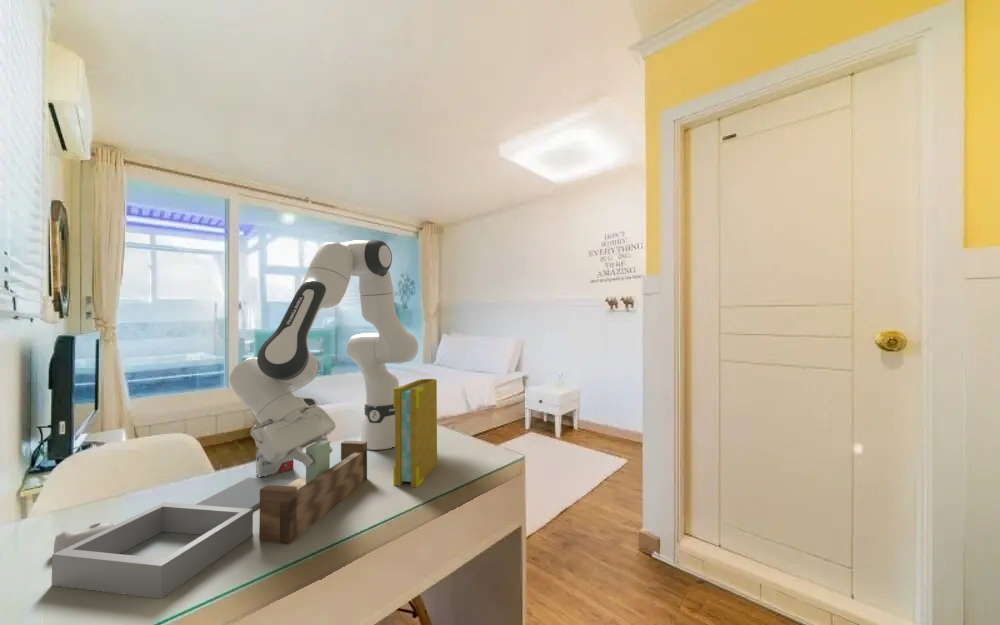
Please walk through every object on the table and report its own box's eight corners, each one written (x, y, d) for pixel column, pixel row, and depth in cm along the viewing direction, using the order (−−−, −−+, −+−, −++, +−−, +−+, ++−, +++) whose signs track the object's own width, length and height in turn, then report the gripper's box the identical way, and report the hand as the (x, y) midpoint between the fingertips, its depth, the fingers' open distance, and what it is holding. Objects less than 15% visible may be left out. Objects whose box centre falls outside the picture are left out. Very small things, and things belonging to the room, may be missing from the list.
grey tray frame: (163, 526, 75) (164, 502, 75) (252, 534, 72) (252, 509, 72) (51, 585, 58) (52, 554, 58) (160, 598, 55) (161, 565, 55)
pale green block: (320, 499, 86) (320, 440, 87) (329, 499, 86) (329, 440, 86) (305, 509, 81) (306, 447, 82) (315, 510, 81) (316, 448, 81)
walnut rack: (345, 477, 98) (345, 440, 98) (367, 478, 97) (367, 441, 98) (259, 541, 69) (259, 489, 70) (289, 544, 69) (289, 491, 69)
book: (417, 487, 92) (417, 389, 93) (393, 485, 93) (393, 388, 94) (441, 461, 108) (440, 379, 109) (420, 460, 110) (420, 378, 110)
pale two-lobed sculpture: (117, 540, 73) (114, 543, 69) (55, 556, 67) (48, 560, 64) (119, 516, 74) (116, 518, 70) (58, 531, 69) (51, 534, 65)
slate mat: (248, 481, 96) (248, 477, 96) (295, 484, 94) (295, 480, 94) (179, 517, 79) (179, 512, 79) (235, 521, 77) (235, 517, 77)
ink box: (289, 464, 108) (289, 425, 108) (293, 469, 104) (294, 428, 105) (255, 473, 102) (255, 431, 102) (259, 478, 98) (259, 435, 99)
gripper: (255, 417, 75) (298, 467, 73) (319, 397, 95) (353, 435, 93) (236, 438, 75) (278, 487, 74) (303, 413, 96) (337, 452, 94)
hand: (320, 458), depth 84 cm, fingers closed on pale green block, 5 cm apart
